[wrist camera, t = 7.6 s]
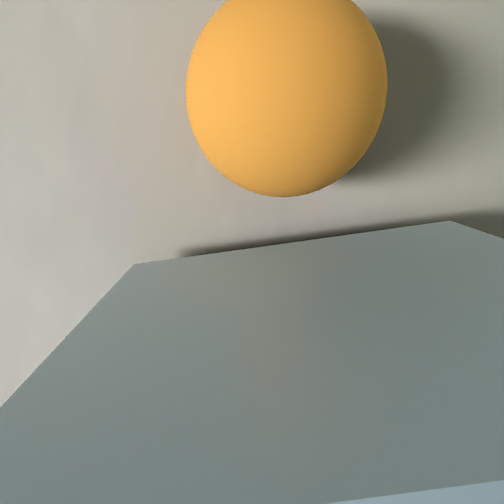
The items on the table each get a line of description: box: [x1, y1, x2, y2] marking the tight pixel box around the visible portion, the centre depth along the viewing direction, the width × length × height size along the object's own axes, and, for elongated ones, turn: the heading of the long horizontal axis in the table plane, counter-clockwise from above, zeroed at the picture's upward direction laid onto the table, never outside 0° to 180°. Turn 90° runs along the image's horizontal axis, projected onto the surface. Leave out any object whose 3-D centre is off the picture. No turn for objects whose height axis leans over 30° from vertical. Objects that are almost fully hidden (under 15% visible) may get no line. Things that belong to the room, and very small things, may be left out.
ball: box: [186, 0, 388, 197], centre depth 9 cm, size 5×5×5 cm
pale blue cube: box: [0, 221, 504, 504], centre depth 9 cm, size 10×10×9 cm
